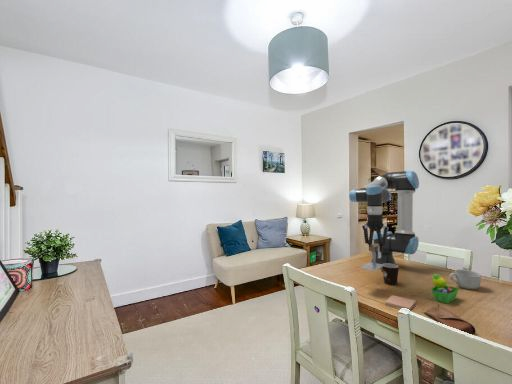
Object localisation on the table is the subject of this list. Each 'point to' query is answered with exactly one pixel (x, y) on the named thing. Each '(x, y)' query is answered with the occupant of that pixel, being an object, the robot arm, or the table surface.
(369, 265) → the grey post stand
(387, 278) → the coffee mug
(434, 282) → the fruit basket
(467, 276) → the teacup
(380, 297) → the table surface
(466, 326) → the sunglasses case
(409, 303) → the tile
